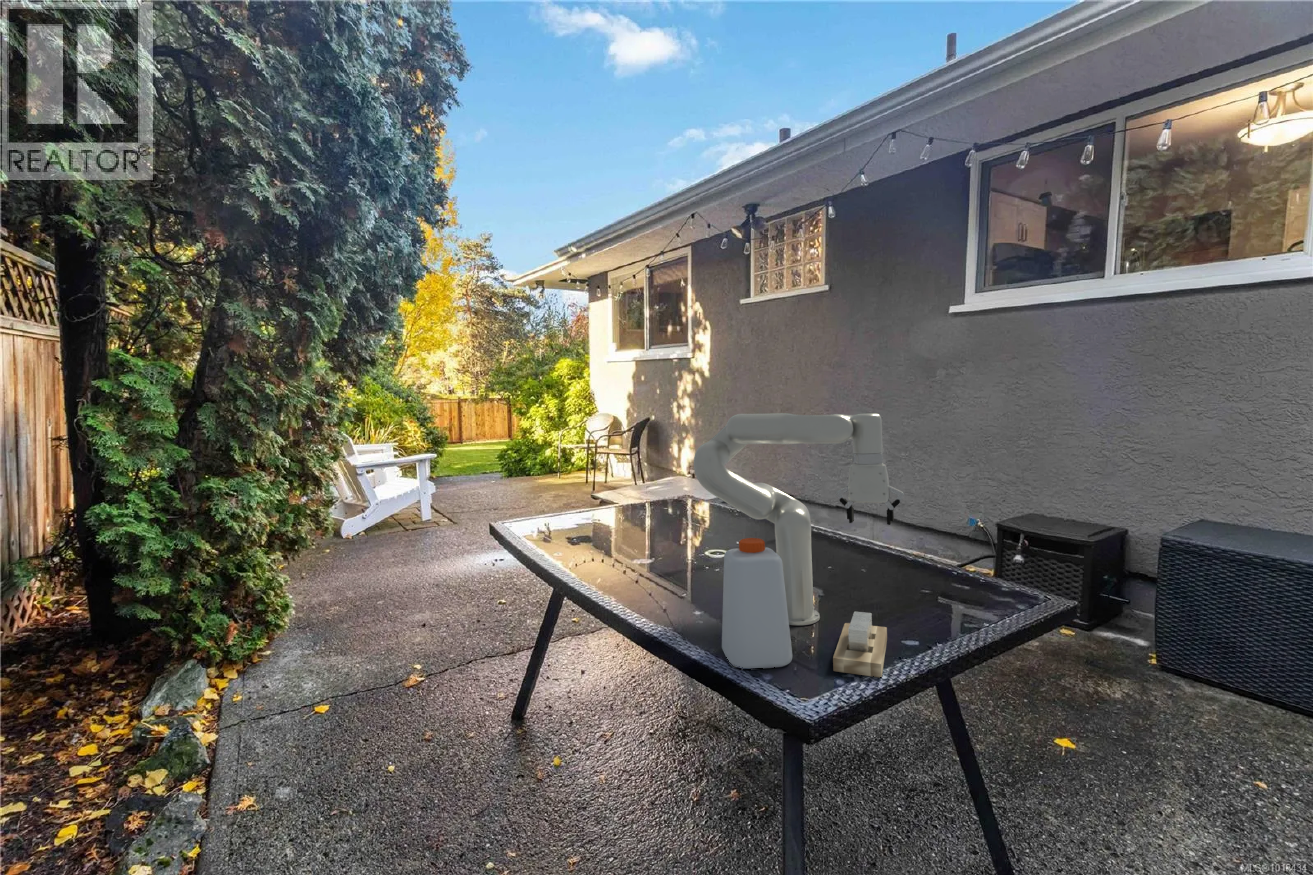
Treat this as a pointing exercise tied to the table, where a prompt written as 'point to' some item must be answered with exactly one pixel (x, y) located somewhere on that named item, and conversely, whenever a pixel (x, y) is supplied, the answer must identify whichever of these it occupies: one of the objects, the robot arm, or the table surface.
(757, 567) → the plastic bottle
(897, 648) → the table surface
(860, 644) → the brushed steel block
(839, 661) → the birch rail
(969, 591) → the table surface
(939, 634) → the table surface
